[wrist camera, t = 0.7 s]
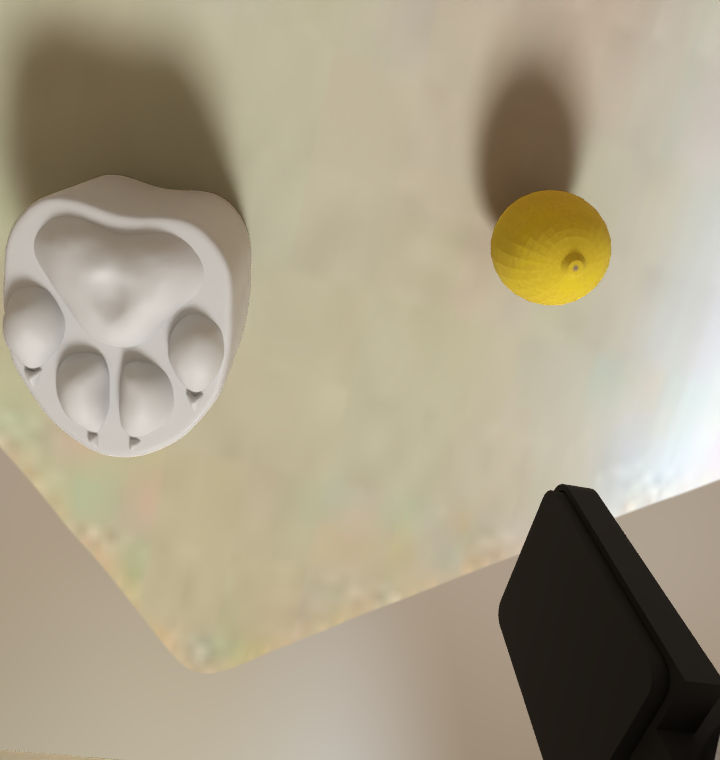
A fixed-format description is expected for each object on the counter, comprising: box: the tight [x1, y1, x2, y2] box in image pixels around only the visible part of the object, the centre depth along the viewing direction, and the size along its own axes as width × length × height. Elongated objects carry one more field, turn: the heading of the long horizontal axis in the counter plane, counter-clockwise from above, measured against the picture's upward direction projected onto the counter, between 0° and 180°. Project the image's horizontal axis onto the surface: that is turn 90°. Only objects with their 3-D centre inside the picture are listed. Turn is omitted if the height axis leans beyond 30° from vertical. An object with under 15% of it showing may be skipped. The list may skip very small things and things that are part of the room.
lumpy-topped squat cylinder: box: [3, 175, 251, 457], centre depth 31 cm, size 10×13×9 cm
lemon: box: [491, 190, 611, 305], centre depth 31 cm, size 6×6×8 cm
